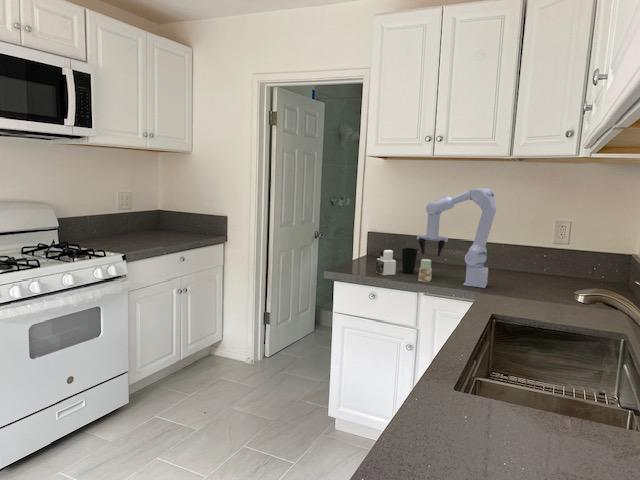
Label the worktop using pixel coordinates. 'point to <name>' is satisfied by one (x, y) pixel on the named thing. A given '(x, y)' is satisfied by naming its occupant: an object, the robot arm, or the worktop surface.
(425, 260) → the green cube
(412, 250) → the cup
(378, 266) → the medicine bottle
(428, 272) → the upper slab
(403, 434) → the worktop surface
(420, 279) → the lower slab
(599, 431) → the worktop surface
